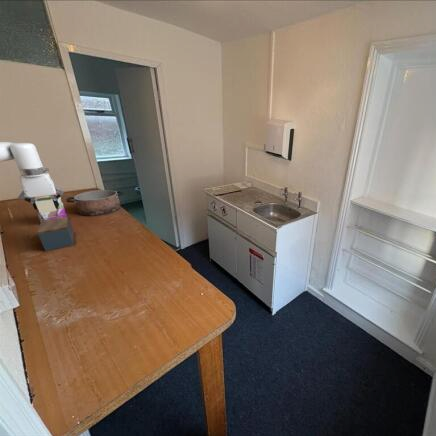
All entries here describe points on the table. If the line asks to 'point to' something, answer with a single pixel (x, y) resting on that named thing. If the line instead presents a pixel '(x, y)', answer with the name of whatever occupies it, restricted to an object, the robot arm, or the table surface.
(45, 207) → the cube
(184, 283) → the table surface
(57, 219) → the grey box shape
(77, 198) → the cooking pot
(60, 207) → the candy bar box
